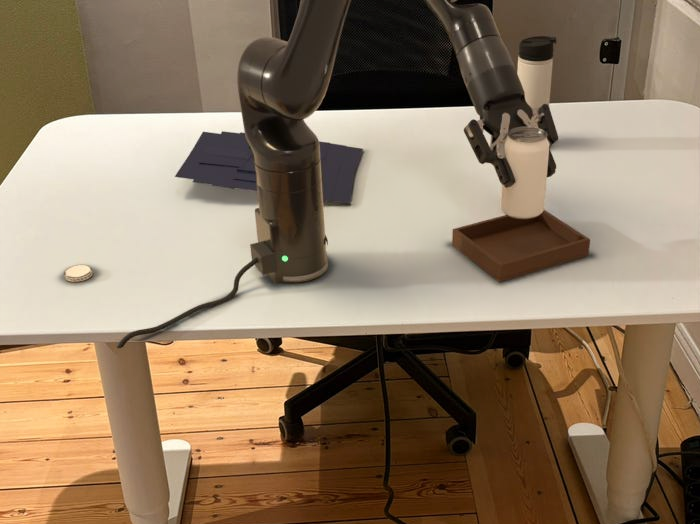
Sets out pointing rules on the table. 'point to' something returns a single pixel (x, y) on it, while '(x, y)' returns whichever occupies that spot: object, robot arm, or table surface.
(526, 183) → the can
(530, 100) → the travel mug
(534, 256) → the tray
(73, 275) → the cream ridged disc
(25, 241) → the table surface
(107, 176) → the table surface
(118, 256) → the table surface
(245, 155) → the papers
